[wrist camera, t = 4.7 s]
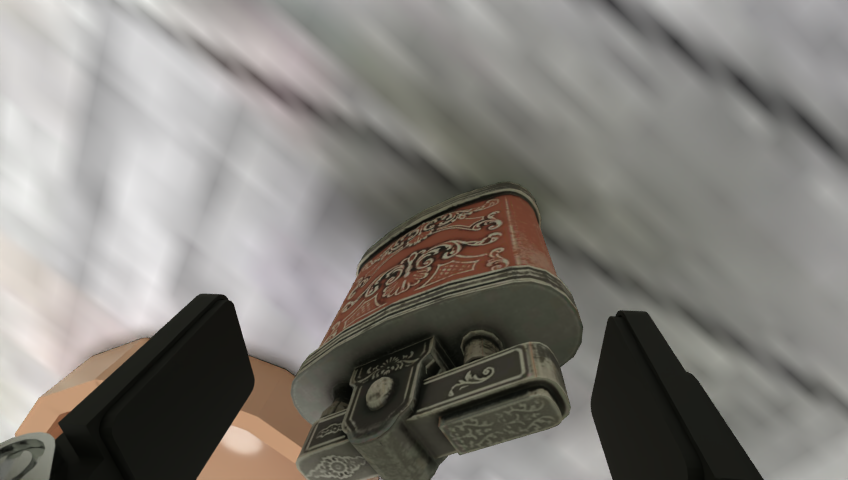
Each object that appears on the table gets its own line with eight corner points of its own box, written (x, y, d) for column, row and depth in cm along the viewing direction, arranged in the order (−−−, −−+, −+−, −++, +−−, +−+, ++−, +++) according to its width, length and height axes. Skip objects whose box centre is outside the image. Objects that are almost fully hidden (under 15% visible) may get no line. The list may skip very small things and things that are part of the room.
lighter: (387, 309, 19) (302, 550, 10) (345, 251, 18) (205, 460, 9) (552, 235, 16) (648, 466, 7) (515, 162, 15) (571, 324, 6)
